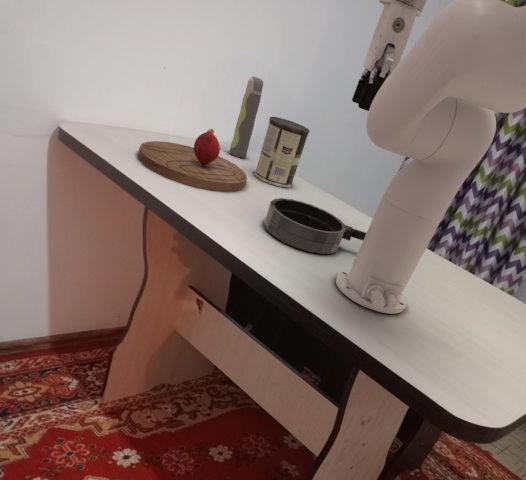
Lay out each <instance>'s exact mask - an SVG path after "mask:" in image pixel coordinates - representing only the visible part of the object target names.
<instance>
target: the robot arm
mask: <svg viewBox="0 0 526 480" xmlns="http://www.w3.org/2000/svg"><path fill="white" fill-rule="evenodd" d="M427 1H428V0H379V1H378V2H379V3H380V4H381V5H383V9H382V11H381V14H380V15H379V19H378V21H377V23H376V26H375V29H374V32H373V35H372V38H371V40H370V43H369V45H368V49H367V52H366V55H365V58H364V62H363V67H364V69H363V71H362V73H361V75H360V78H359V79H358V82H357V85H356V88H355V90H354V93H353V96H352V98H351V101H352V102H353V103H355V104H357V105H358V107H357V108H359V109H362V110H364V111H367V112H368V113H367V116H366V124H365V125H366V132H367V135H368V138H369V139H370V141H371V142H372V143H373V144H374V145H375V146H377V147H378V148H380V149H382V150H385V151H387V152H390V153H393V154H396V155H399V156H403V157H406V158H410V159H411V161H409V162H408V163H407V164H406V165H404V166H403V167H402V168H401V169H400V170H399V171H398V172H397V173H396V174H395V175H394V176H393V178H391V180H390V182H389V183H388V185H387V187H386V189H385V191H384V193H383V195H382V198H381V200H380V201H379V204H378V207H377V209H376V211H375V213H374V215H373V218H372V220H371V222H370V224H369V226H368V229H367V231H366V232H365V233H366V235H365V238H364V240H362V242H361V244H360V247H359V249H358V251H357V253H356V255H355V258H354V259H353V262H352V265H351V266H350V269H345V270H342V271H339V272H338V274H337V276H336V278H335V284H336V287H337V288H338V289H339V291H340V293H342V294H343V295H345V296H346V297H347V298H348V299H350V301H351V300H352V302H354V303H356V304H357V305H360V306H362V307H364V308H366V309H369V310H371V311H374V312H378V313H383V314H388V315H389V314H390V315H395V314H399V313H402V312H404V311H405V309H406V307H407V305H408V301H407V297H406V296H405V295H404V294H403V292H404V291H405V289H406V287H407V285H408V283H409V282H410V280H411V278H412V276H413V274H414V272H415V270H416V268H417V266H419V265H418V264H419V263H420V261H421V259H422V257H423V255H424V254H425V251H426V250H427V247H428V246H429V244H430V242H431V241H432V239H433V237H434V236H435V235H434V234H435V233H436V231H437V229H438V227H439V225H440V224H441V222H442V221H443V218H444V216H445V214H446V213H447V211H448V209H449V208H450V205H451V203H452V202H453V200H454V198H455V197H456V195H457V193H458V191H459V190H460V188H461V186H462V185H463V184H464V182H465V181H466V180H467V178H468V177H469V176H470V174H471V173H472V172H473V171H474V169H475V168H476V166H477V165H478V164H479V163H480V162H481V160H482V159H483V158H484V156H485V155H486V153H487V152H488V150H489V148H490V147H491V146H492V143H493V141H494V139H495V135H496V130H497V119H496V114H495V112H497V113H502V114H513V113H517V112H520V111H521V110H523V109H525V108H526V4H525V5H523V6H518V7H516V6H513V5H512V4H509V3H507V2H505V1H503V0H453V1H451V2H450V3H449V4H447V5H446V6H444V8H443V9H441V11H440V12H439V13H438V14H437V15H436V16H435V17H434V19H433V20H431V22H430V23H429V25H427V27H426V28H425V29H424V31H423V32H422V33H421V35H420V36H419V37H418V38H417V39H416V41H415V42H414V43H413V45H412V46H411V47H410V49H409V50H408V51H407V52H406V54H405V55H404V52H405V50H406V47H407V44H408V42H409V40H410V36H411V33H412V29H413V26H414V24H415V21H416V17H419V18H420V17H421V15H422V13H423V10H424V8H425V5H426V4H427ZM403 55H404V56H403Z"/></svg>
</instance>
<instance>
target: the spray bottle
mask: <svg viewBox="0 0 526 480" xmlns="http://www.w3.org/2000/svg"><path fill="white" fill-rule="evenodd" d="M263 88H264V80H263V79H261V78H260V77H257V76H250V77H249V79H248V81H247V84H246V88H245V93H244V95H243V98H242V103H241V105H240V111H239V114H238V118H237V121H236V125H235V129H234V133H233V138H232V141H231V144H230V148H229V153H230V155H232V156H234V157H236V158H240V159H244V158H246V157H247V154H248V151H249V146H250V141H251V138H252V134H253V131H254V127H255V122H256V117H257V114H258V111H259V107H260V103H261V98H262V95H263V94H262V93H263Z"/></svg>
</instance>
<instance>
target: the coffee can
mask: <svg viewBox="0 0 526 480" xmlns="http://www.w3.org/2000/svg"><path fill="white" fill-rule="evenodd" d="M268 119H269V121H268V125H267V129H266V131H265V132H266V133H265V136H264V140H263V144H262V147H261V151H260V155H259V158H258V162H257V165H256V169H255V171H254V176H255V177H256V178H257V179H258V180H260V181H262V182H264V183H266V184H269V185H273V186H275V187H278V188H279V187H280V188H291V187H292V185H293V182H294V178H295V175H296V173H297V169H298V167H299V163H300V160H301V157H302V155H303V151H304V147H305V144H306V141H307V139H308V136H309V134H310V129H308V127H306V126H303V125H302V124H299V123H298V122H294V121H291V120H288V119H285V118H282V117H278V116H270V117H269V118H268Z"/></svg>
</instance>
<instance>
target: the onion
mask: <svg viewBox="0 0 526 480" xmlns="http://www.w3.org/2000/svg"><path fill="white" fill-rule="evenodd" d="M214 132H215V130H214V129H213V128H209V129H208V130H207V131H206V132H203V133H201V134H199V135H198V136H197V138H196V139H195V140H194V143H193V148H194V153H195V156H196V158H197V159H198V161H199V162H200V163H201V164H202V165H207V164H209V163H211V162H213V161H214V160H216V158H217V157H218V156H219V155H220V152H221V145H220V142H219V140H218V138H217V136H216V135H215V134H214Z"/></svg>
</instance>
